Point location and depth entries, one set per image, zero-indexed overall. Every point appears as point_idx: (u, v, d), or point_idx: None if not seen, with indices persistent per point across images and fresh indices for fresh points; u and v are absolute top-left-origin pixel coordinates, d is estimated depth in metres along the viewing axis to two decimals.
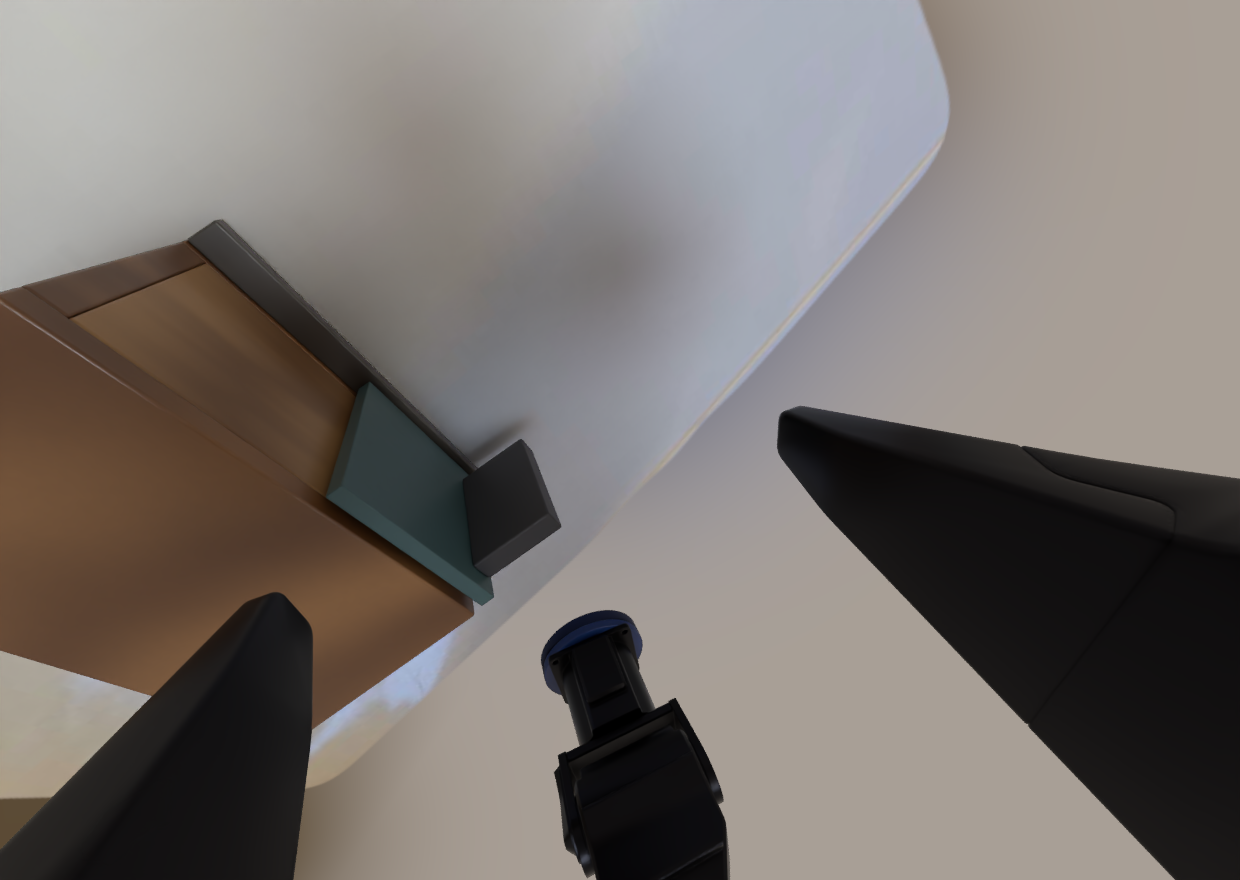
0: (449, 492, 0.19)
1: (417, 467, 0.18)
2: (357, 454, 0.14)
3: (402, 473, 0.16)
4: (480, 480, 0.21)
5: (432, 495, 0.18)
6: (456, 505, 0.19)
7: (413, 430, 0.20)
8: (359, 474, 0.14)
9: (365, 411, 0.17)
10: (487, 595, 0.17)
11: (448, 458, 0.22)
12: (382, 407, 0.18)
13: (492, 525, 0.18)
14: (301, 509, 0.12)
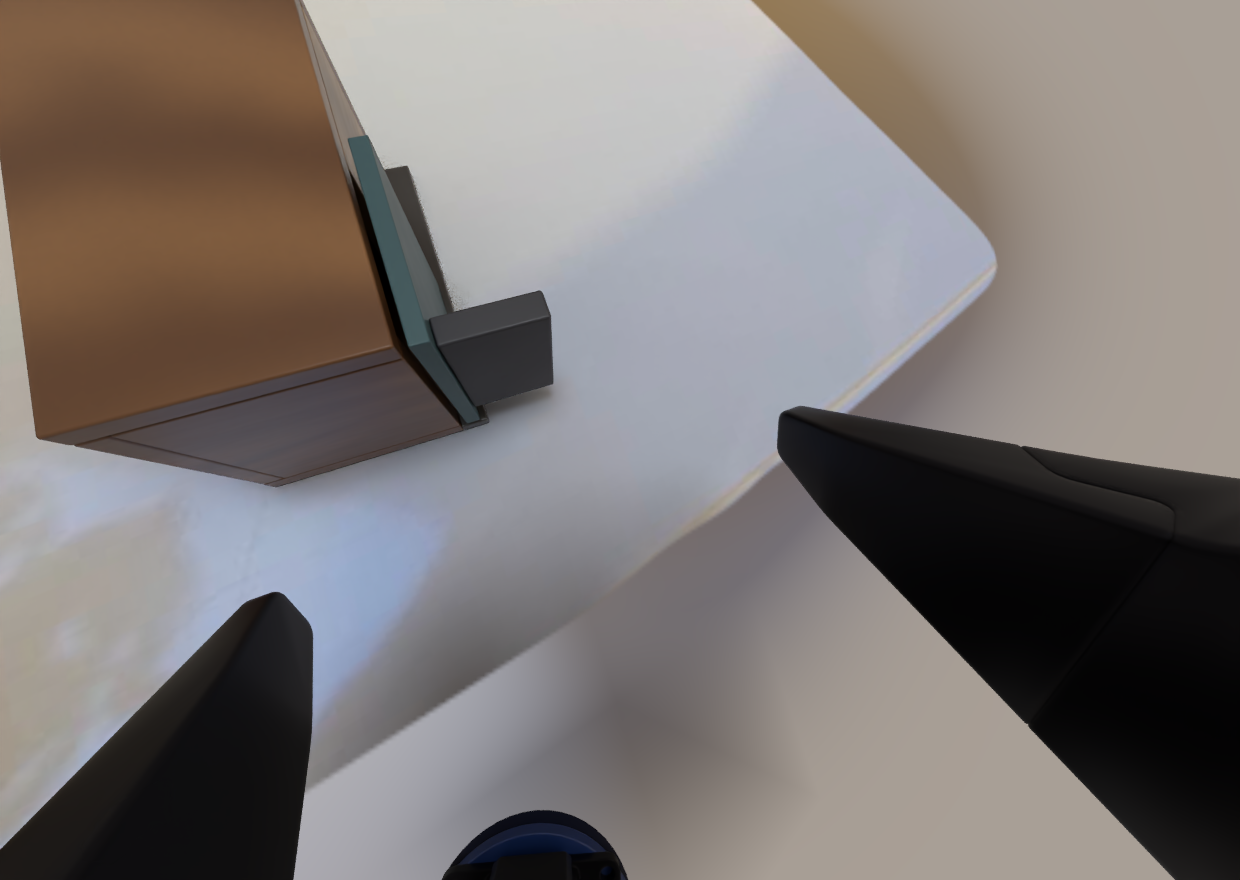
0: None
1: (433, 295, 0.17)
2: (393, 192, 0.15)
3: (418, 259, 0.16)
4: None
5: (431, 300, 0.16)
6: None
7: None
8: (385, 176, 0.14)
9: (420, 248, 0.18)
10: (423, 332, 0.12)
11: None
12: (434, 282, 0.20)
13: None
14: (322, 129, 0.13)
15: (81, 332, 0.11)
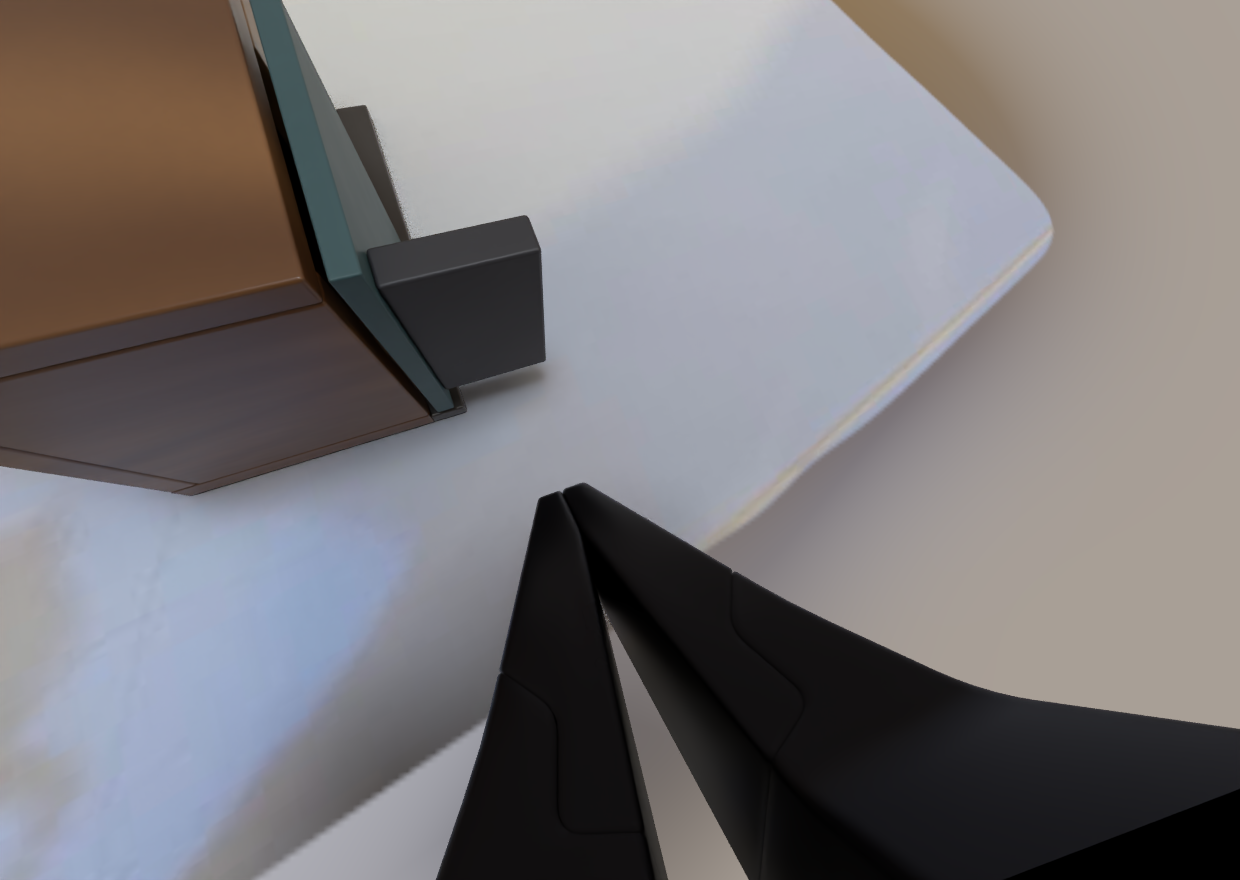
0: None
1: (387, 243, 0.13)
2: (327, 95, 0.11)
3: (363, 189, 0.12)
4: None
5: (382, 243, 0.12)
6: None
7: None
8: (310, 64, 0.10)
9: (374, 188, 0.14)
10: (352, 261, 0.08)
11: None
12: (395, 236, 0.16)
13: None
14: None
15: None
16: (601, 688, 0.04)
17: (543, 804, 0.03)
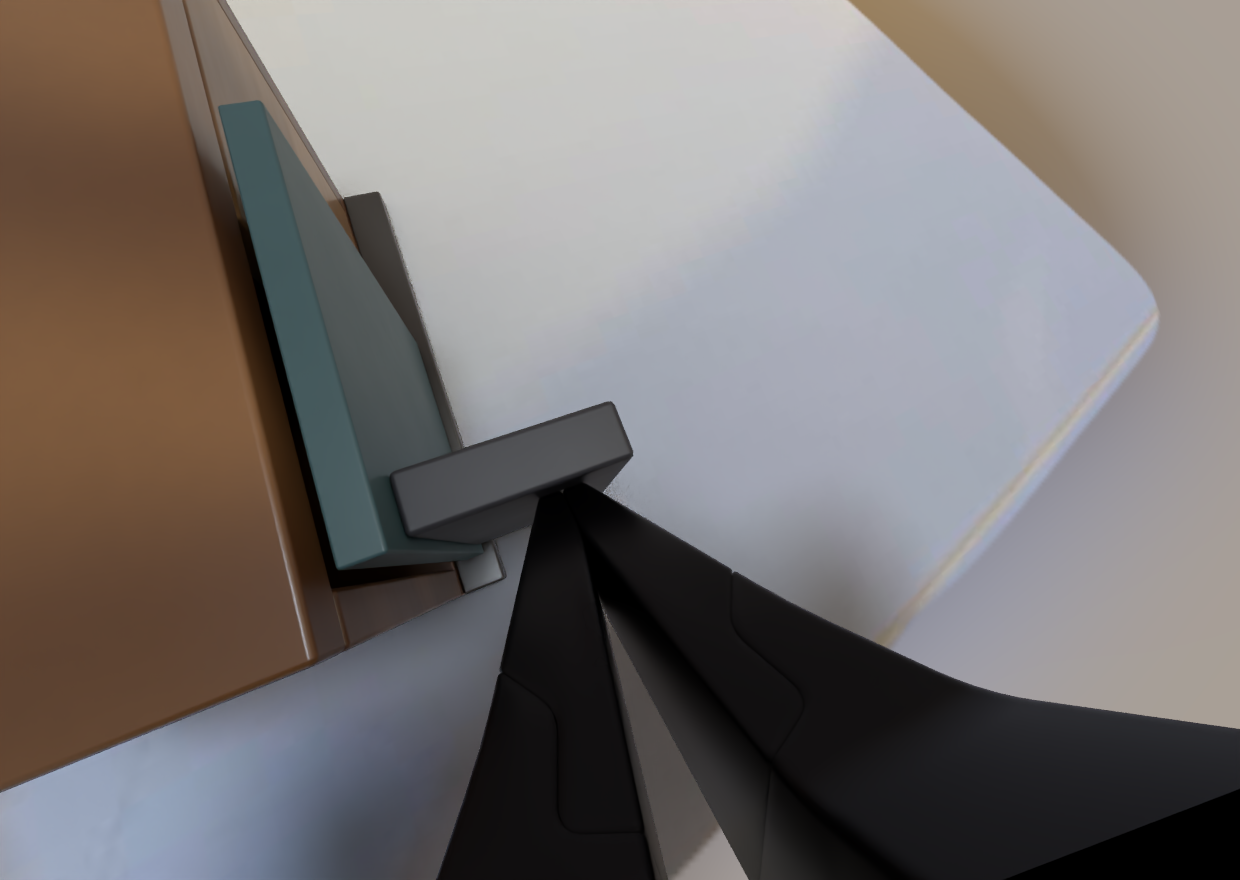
0: None
1: (406, 380, 0.10)
2: (330, 212, 0.09)
3: (377, 326, 0.09)
4: None
5: (402, 398, 0.09)
6: None
7: (434, 408, 0.13)
8: (307, 183, 0.08)
9: (386, 297, 0.11)
10: (372, 532, 0.05)
11: None
12: (411, 346, 0.13)
13: None
14: (169, 137, 0.06)
15: None
16: (601, 688, 0.04)
17: (543, 804, 0.03)
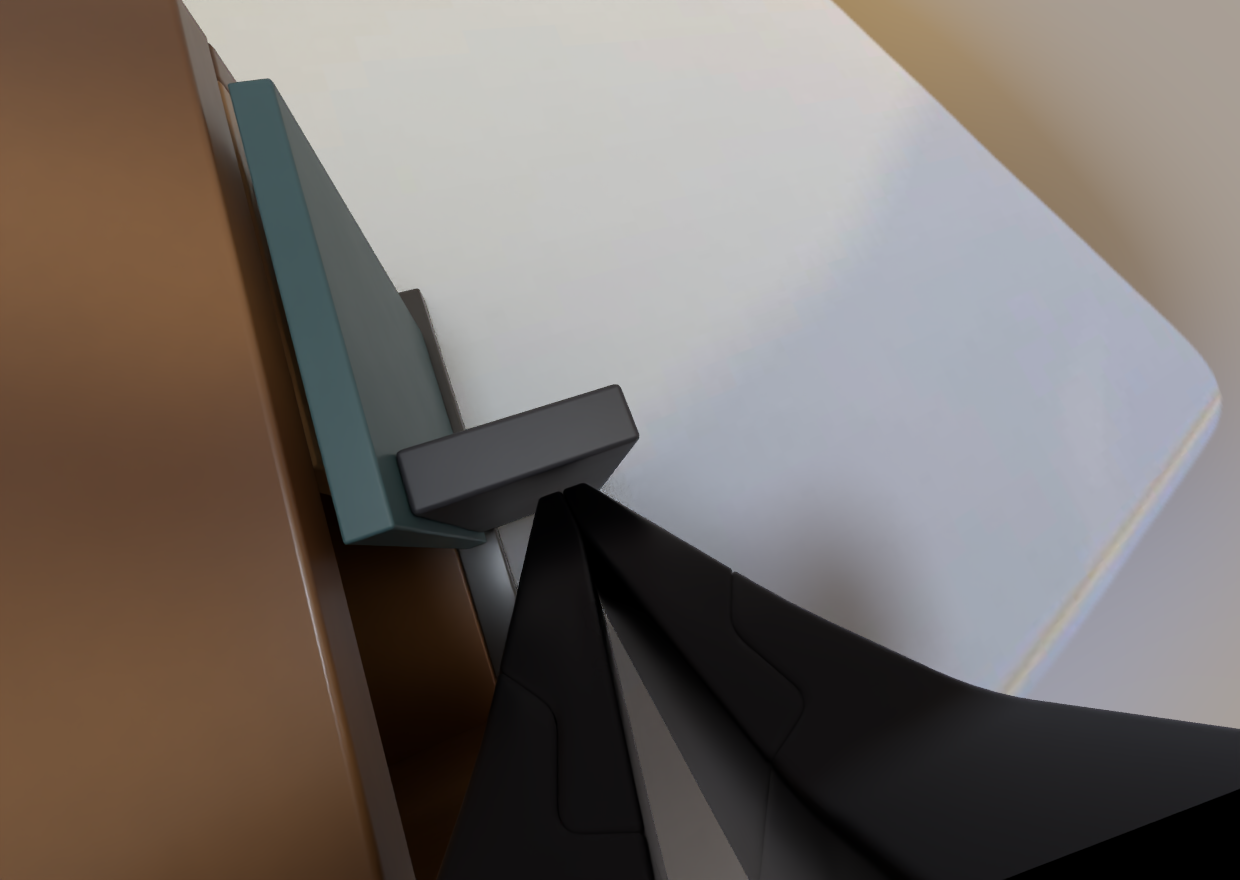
0: None
1: (411, 367, 0.10)
2: (338, 195, 0.09)
3: (383, 311, 0.09)
4: None
5: (407, 383, 0.09)
6: None
7: (438, 397, 0.13)
8: (315, 164, 0.08)
9: (392, 284, 0.12)
10: (379, 507, 0.05)
11: None
12: (415, 334, 0.13)
13: None
14: (246, 407, 0.05)
15: None
16: (601, 688, 0.04)
17: (543, 804, 0.03)
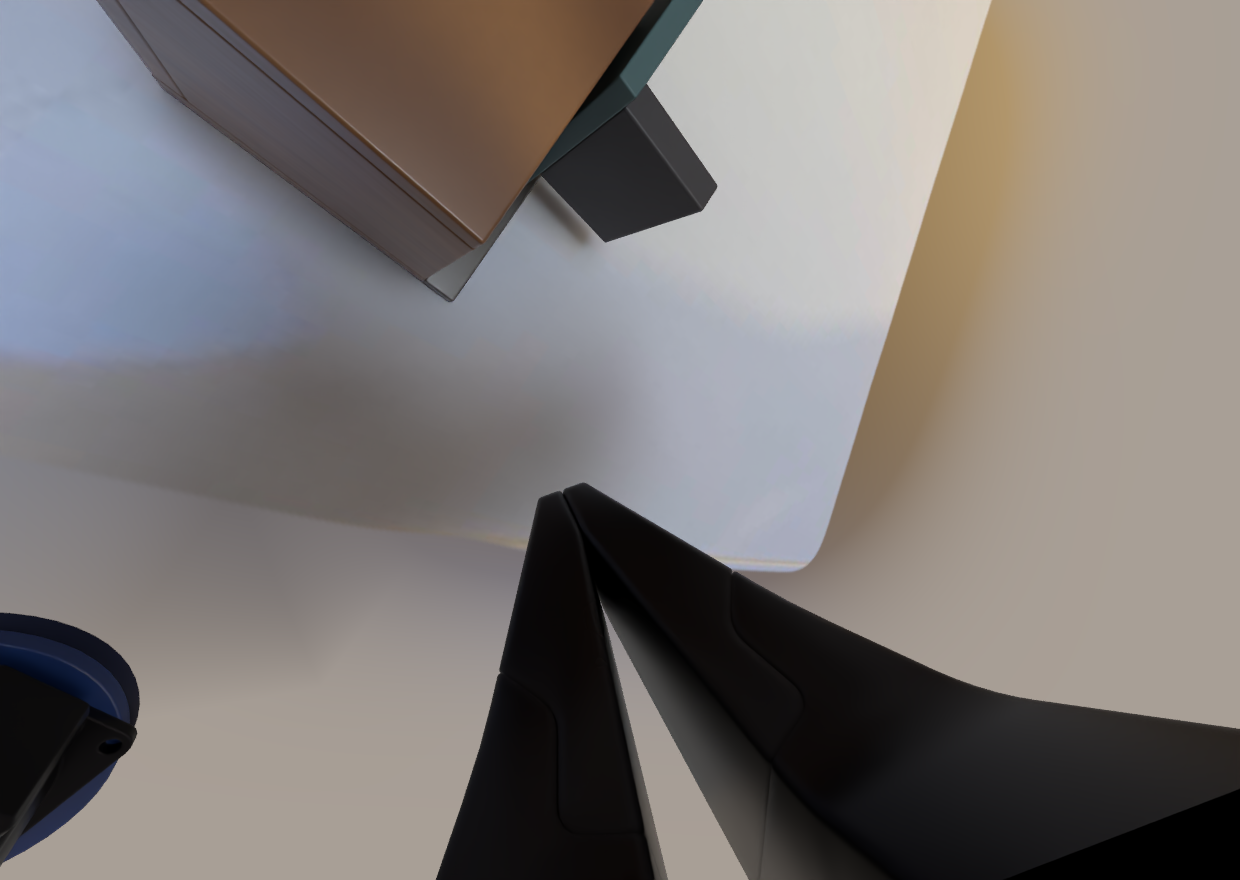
0: None
1: None
2: None
3: None
4: None
5: None
6: None
7: None
8: None
9: None
10: (639, 85, 0.11)
11: None
12: None
13: None
14: None
15: None
16: (601, 688, 0.04)
17: (543, 804, 0.03)
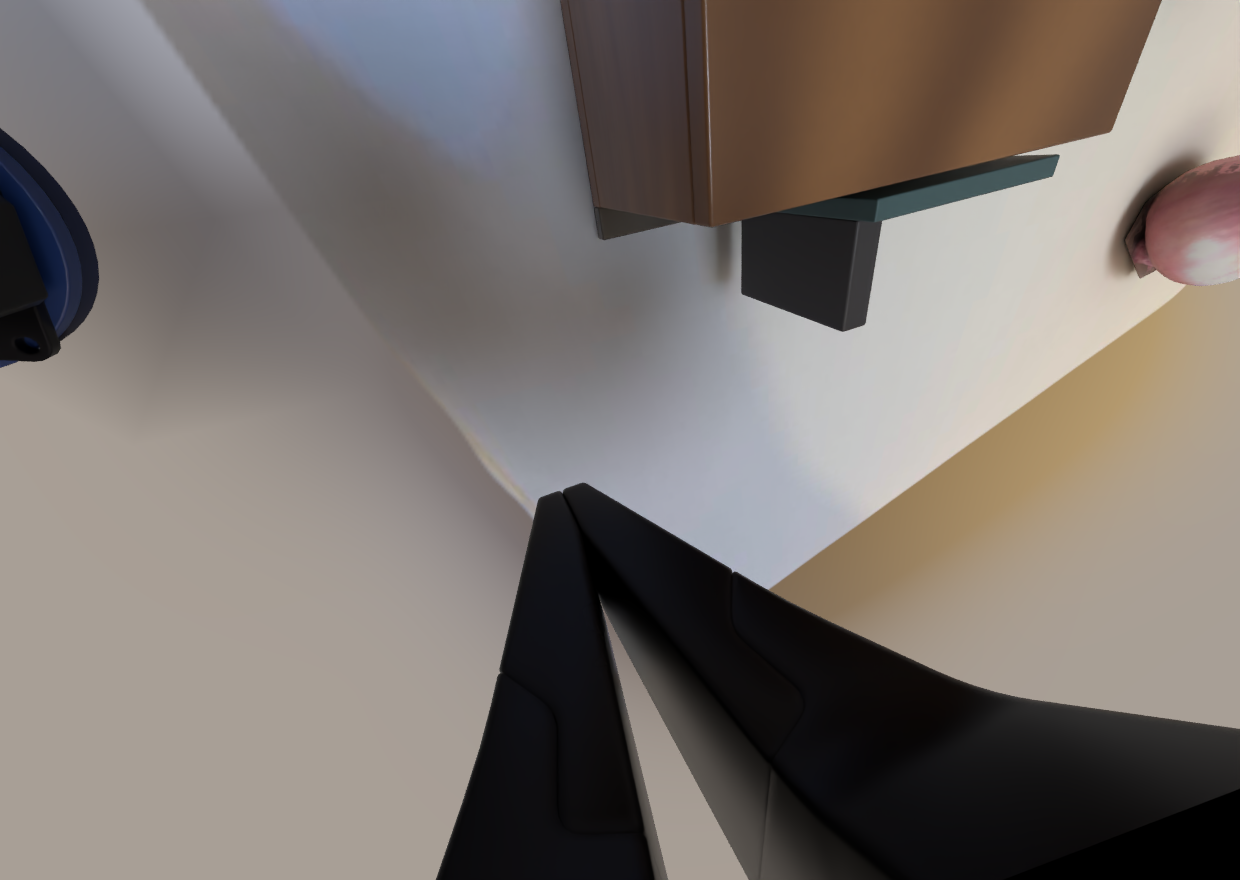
0: None
1: None
2: None
3: None
4: None
5: None
6: None
7: None
8: None
9: None
10: (883, 216, 0.12)
11: None
12: None
13: None
14: (944, 162, 0.12)
15: None
16: (601, 688, 0.04)
17: (543, 804, 0.03)
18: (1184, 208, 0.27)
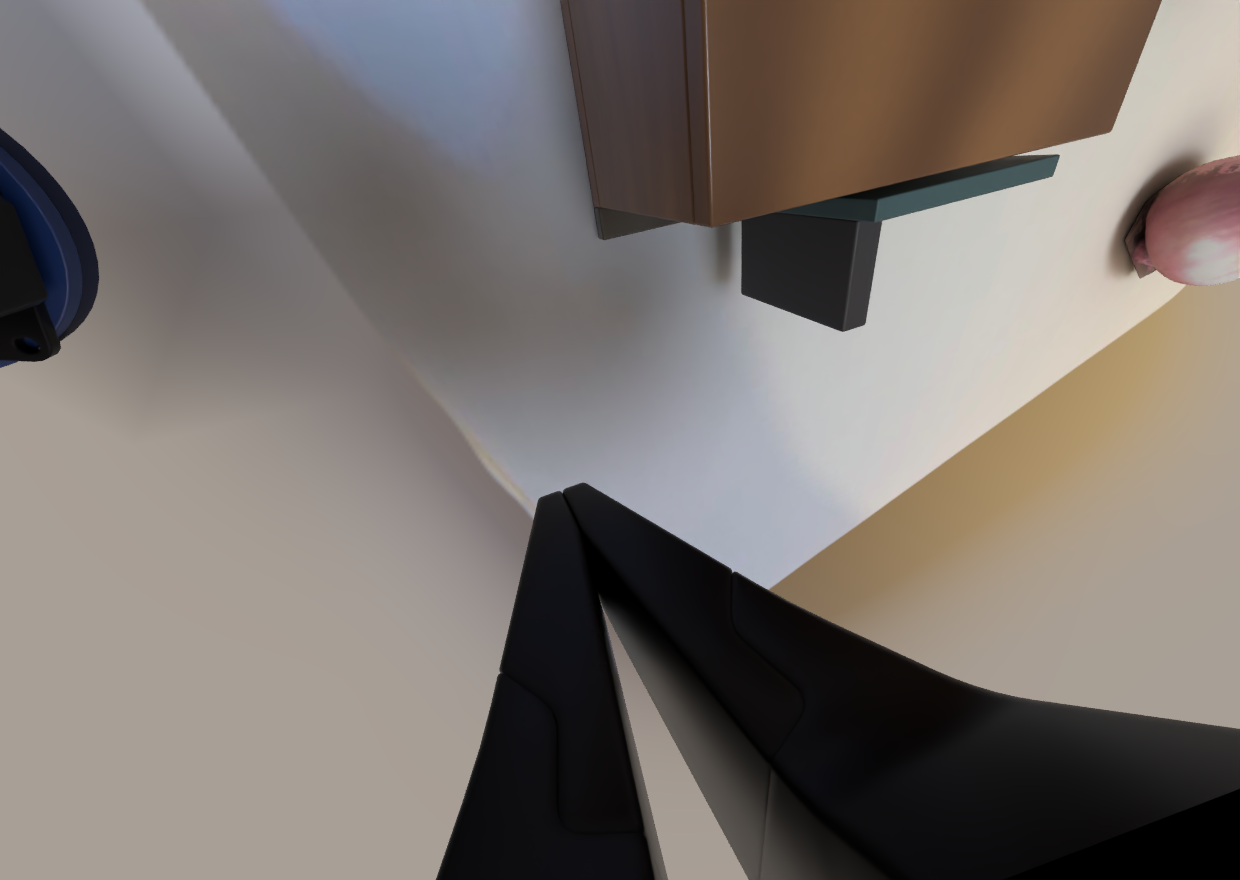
0: None
1: None
2: None
3: None
4: None
5: None
6: None
7: None
8: None
9: None
10: (883, 216, 0.12)
11: None
12: None
13: None
14: (944, 162, 0.12)
15: None
16: (601, 688, 0.04)
17: (543, 804, 0.03)
18: (1184, 208, 0.27)
